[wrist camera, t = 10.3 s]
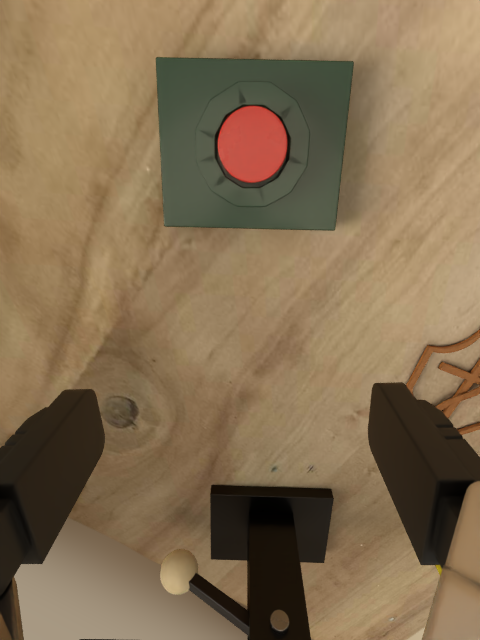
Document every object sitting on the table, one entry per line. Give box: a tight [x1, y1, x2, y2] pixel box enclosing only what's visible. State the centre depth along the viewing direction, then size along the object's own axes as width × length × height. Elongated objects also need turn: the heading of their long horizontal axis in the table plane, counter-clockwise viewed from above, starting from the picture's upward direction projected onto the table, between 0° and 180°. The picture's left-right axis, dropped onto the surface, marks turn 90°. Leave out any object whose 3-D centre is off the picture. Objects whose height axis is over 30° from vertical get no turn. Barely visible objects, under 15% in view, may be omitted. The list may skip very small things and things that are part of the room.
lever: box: [160, 549, 249, 636], centre depth 30 cm, size 13×3×3 cm
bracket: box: [211, 485, 334, 640], centre depth 32 cm, size 12×9×13 cm
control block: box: [156, 57, 354, 231], centre depth 24 cm, size 12×10×4 cm
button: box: [218, 106, 288, 183], centre depth 22 cm, size 4×4×2 cm
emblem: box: [406, 329, 480, 435], centre depth 32 cm, size 12×10×1 cm
